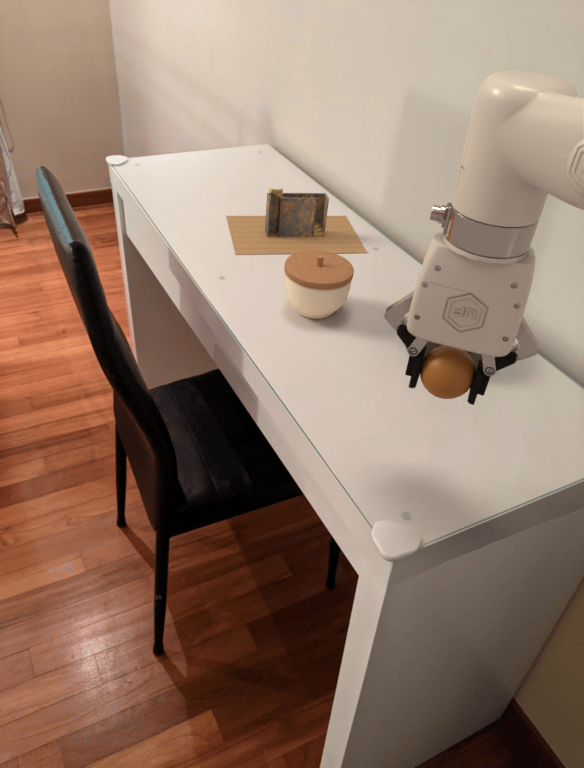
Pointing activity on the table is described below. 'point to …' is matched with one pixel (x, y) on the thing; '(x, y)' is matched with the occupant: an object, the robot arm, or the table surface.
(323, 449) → the table surface
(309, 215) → the architectural model on board
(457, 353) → the orange ball
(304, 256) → the trinket box
